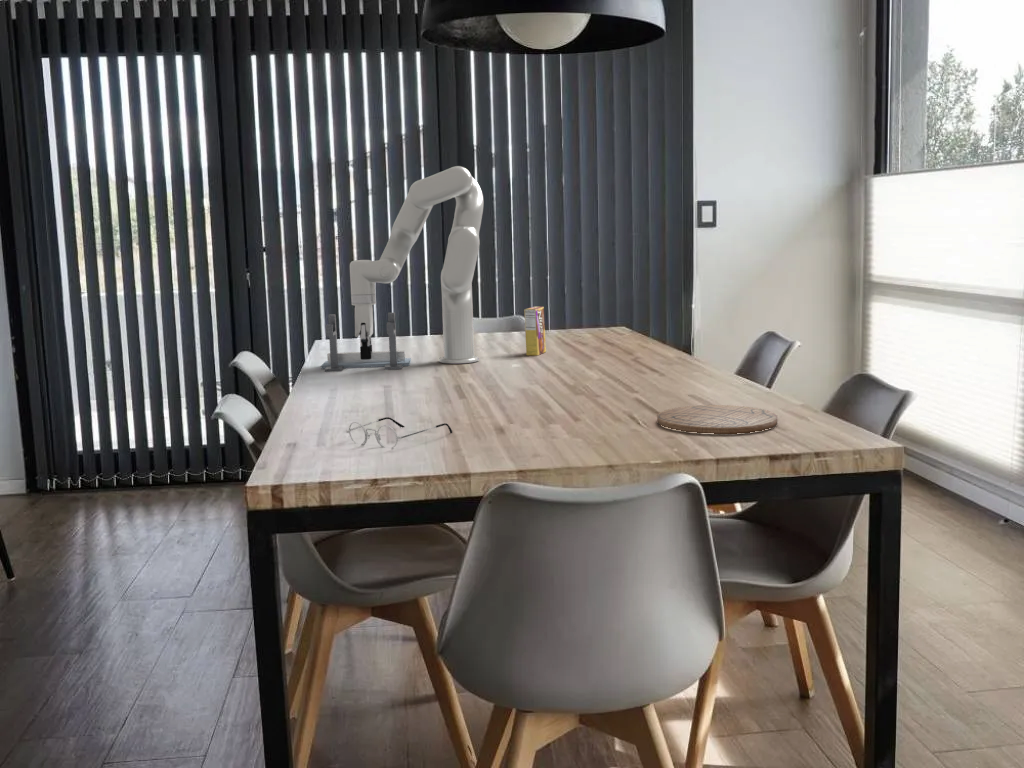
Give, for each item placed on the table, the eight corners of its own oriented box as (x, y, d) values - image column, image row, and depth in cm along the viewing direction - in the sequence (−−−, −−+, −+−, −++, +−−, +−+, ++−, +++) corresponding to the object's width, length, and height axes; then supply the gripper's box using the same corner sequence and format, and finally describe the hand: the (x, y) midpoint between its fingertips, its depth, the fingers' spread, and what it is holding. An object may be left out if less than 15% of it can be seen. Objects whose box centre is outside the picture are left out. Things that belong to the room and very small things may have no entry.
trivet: (694, 409, 234) (694, 401, 234) (797, 420, 219) (797, 411, 218) (634, 428, 215) (634, 419, 215) (743, 442, 200) (743, 432, 199)
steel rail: (328, 362, 321) (328, 353, 321) (405, 359, 322) (404, 350, 322) (327, 363, 319) (327, 354, 318) (404, 361, 320) (404, 351, 319)
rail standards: (327, 368, 314) (324, 314, 312) (402, 366, 315) (399, 312, 313) (323, 373, 305) (319, 317, 302) (400, 371, 306) (397, 314, 303)
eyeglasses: (340, 445, 208) (338, 421, 207) (399, 428, 223) (398, 405, 222) (400, 453, 199) (399, 427, 198) (458, 434, 214) (457, 411, 213)
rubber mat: (326, 363, 326) (326, 360, 326) (411, 361, 327) (410, 358, 327) (321, 368, 315) (321, 365, 315) (409, 365, 316) (408, 362, 316)
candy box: (533, 352, 341) (532, 306, 338) (546, 352, 339) (545, 306, 337) (525, 355, 332) (523, 308, 330) (537, 355, 331) (536, 308, 328)
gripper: (354, 298, 326) (357, 355, 329) (348, 302, 309) (351, 362, 312) (378, 297, 326) (380, 354, 329) (373, 301, 310) (376, 361, 312)
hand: (366, 357), depth 320 cm, fingers open, 3 cm apart
